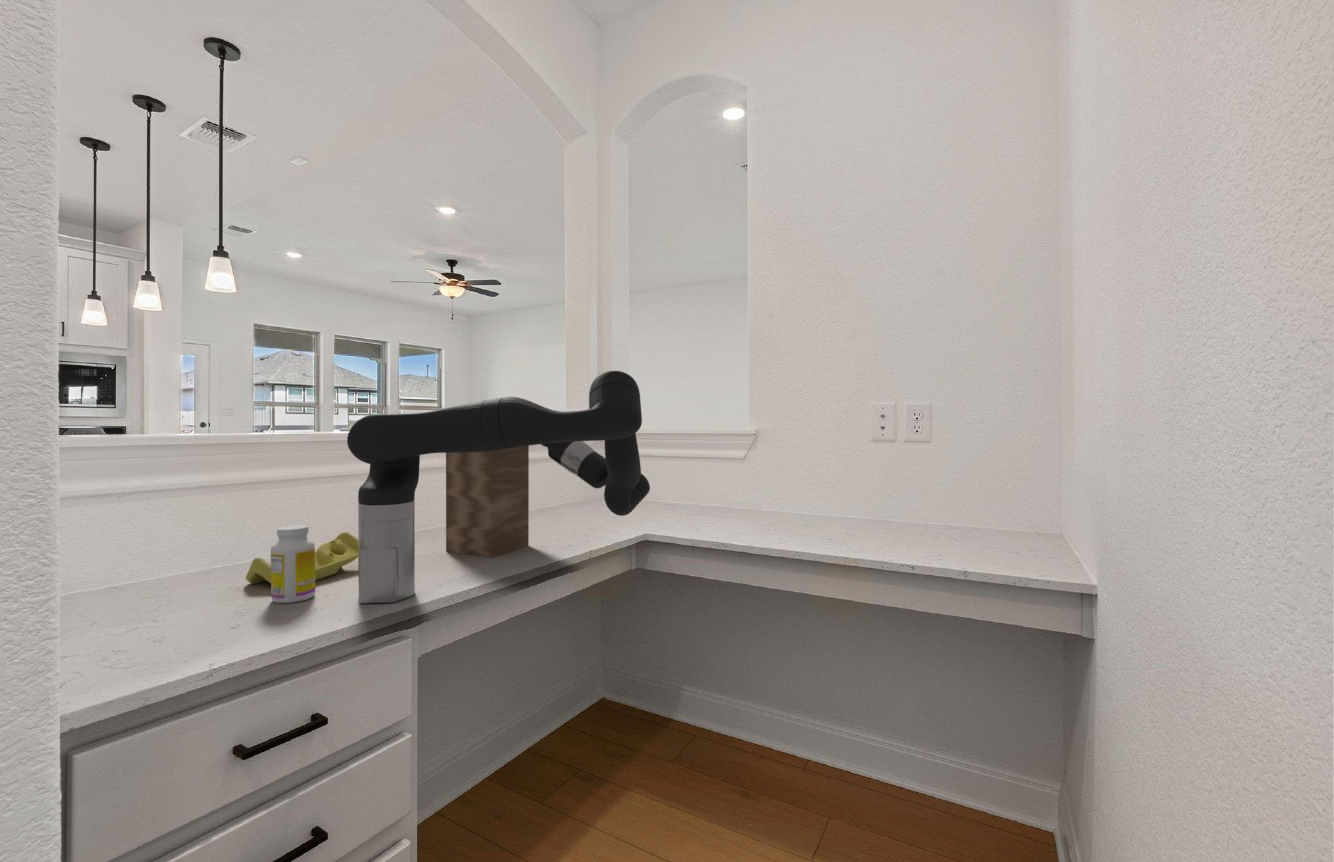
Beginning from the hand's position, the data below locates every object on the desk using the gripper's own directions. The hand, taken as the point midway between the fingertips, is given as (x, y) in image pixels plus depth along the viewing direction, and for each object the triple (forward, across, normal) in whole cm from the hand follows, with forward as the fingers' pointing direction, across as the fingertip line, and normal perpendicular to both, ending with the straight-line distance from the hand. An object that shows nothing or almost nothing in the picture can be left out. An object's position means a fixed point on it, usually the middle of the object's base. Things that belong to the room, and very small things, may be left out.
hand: (521, 417), depth 139 cm
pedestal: (-8, 0, -34) cm, 34 cm away
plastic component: (+5, -35, -42) cm, 55 cm away
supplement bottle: (-4, -46, -36) cm, 59 cm away
